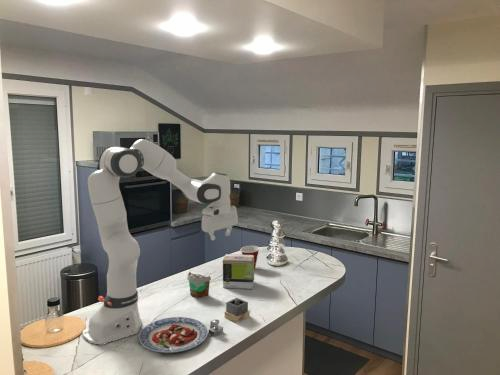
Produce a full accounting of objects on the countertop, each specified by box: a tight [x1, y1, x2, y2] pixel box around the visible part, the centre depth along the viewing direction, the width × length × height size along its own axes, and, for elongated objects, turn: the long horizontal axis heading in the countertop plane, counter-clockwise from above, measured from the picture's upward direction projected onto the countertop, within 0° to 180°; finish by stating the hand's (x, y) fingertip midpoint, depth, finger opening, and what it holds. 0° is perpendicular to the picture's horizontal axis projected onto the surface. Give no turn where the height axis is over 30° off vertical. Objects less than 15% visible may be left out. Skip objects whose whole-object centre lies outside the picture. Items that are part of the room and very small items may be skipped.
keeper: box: [224, 298, 251, 324], centre depth 171 cm, size 8×7×8 cm
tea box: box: [222, 253, 255, 290], centre depth 204 cm, size 15×10×15 cm
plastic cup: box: [239, 245, 260, 270], centre depth 227 cm, size 11×11×12 cm
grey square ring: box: [225, 297, 249, 316], centre depth 171 cm, size 6×6×4 cm
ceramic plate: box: [138, 316, 209, 354], centre depth 155 cm, size 26×26×3 cm
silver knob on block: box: [208, 319, 224, 338], centre depth 158 cm, size 5×3×5 cm, turn 139°
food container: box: [186, 271, 212, 299], centre depth 191 cm, size 12×6×10 cm, turn 62°
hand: (220, 237), depth 186 cm, fingers open, 8 cm apart
